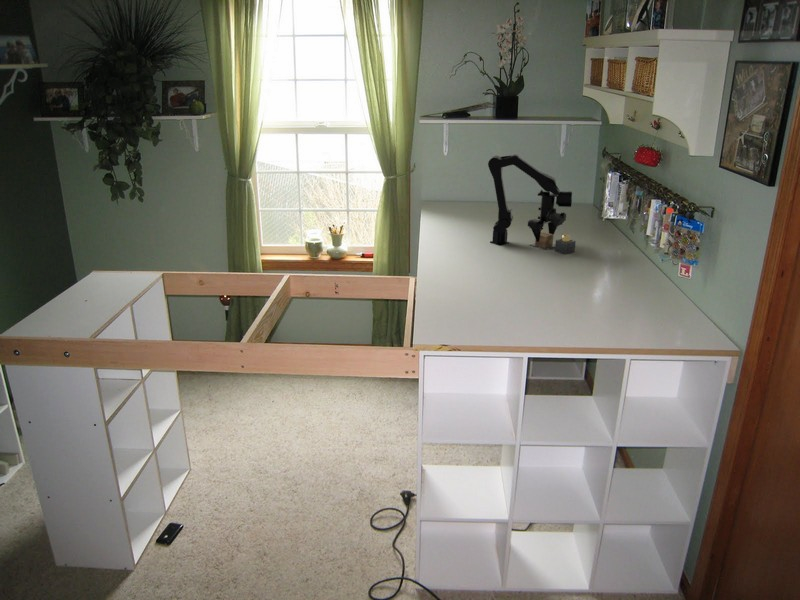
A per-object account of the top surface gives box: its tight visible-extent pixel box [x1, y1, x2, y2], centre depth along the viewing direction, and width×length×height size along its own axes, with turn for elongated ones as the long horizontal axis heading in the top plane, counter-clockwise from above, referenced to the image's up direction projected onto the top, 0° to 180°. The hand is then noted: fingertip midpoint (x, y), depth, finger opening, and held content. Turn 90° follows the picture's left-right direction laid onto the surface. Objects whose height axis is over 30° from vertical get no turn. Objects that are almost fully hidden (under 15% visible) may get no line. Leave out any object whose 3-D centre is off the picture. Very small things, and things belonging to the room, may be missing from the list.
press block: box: [554, 238, 577, 255], centre depth 283 cm, size 6×6×5 cm
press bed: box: [529, 242, 556, 251], centre depth 293 cm, size 9×9×1 cm
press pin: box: [561, 233, 572, 242], centre depth 282 cm, size 4×4×5 cm
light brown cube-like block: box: [534, 231, 554, 247], centre depth 292 cm, size 6×6×5 cm
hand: (544, 239), depth 292 cm, fingers open, 9 cm apart
